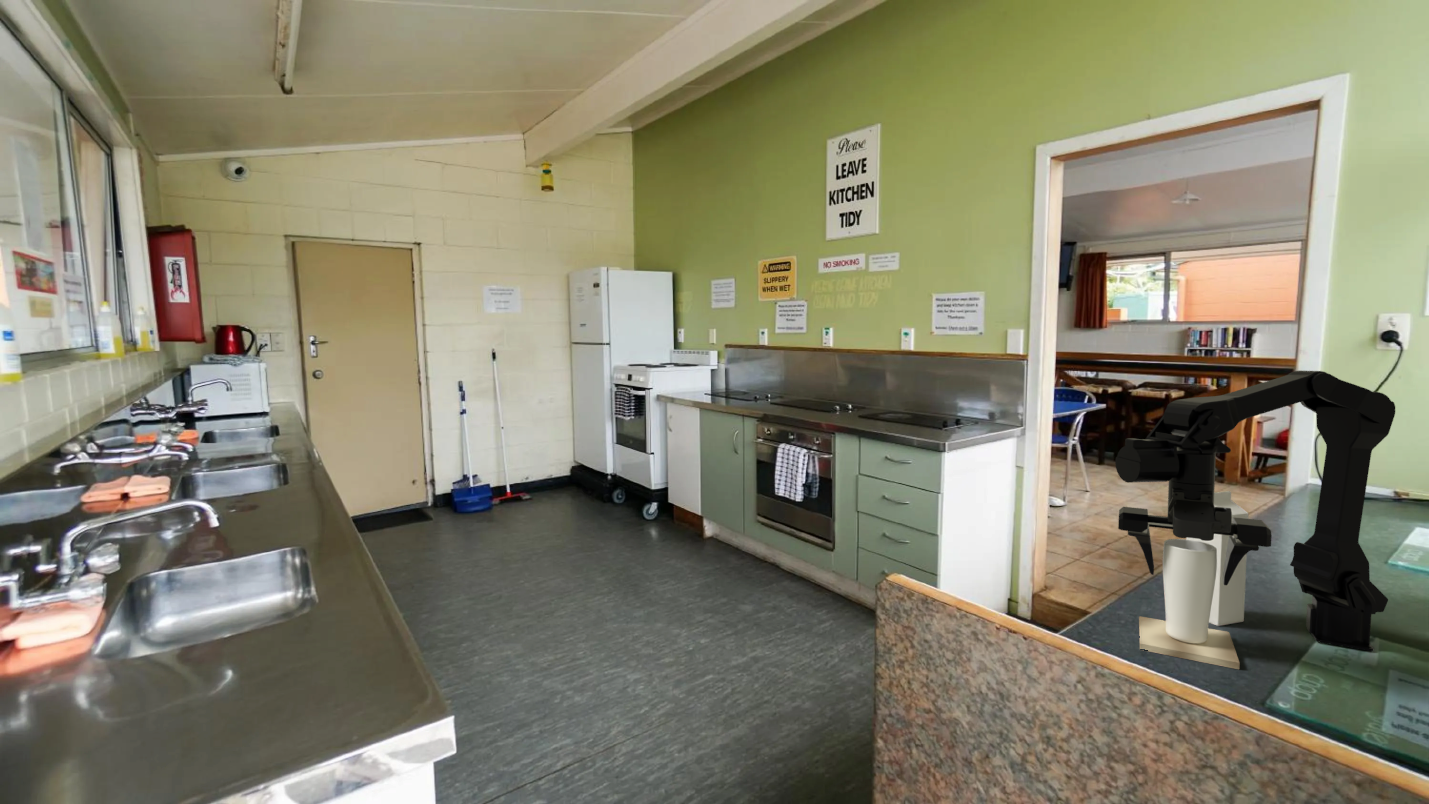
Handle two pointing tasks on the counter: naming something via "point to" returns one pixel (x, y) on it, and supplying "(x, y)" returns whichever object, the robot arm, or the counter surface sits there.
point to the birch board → (1188, 644)
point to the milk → (1230, 596)
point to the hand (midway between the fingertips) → (1187, 579)
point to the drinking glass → (1188, 588)
